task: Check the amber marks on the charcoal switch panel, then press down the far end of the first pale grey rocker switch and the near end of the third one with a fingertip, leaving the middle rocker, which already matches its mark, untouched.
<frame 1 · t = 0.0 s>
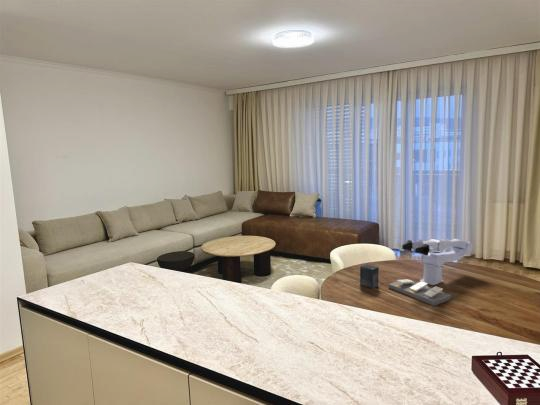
hand: (409, 248, 180), 22 cm above the table, tool horizontal, fingers open, 7 cm apart
rocker a: (405, 281, 185), point 4 cm above the table, hinge at -10.0°
rocker c: (433, 291, 171), point 4 cm above the table, hinge at 10.0°
box: (368, 285, 190), on the table
rocker b: (418, 286, 178), point 4 cm above the table, hinge at 10.0°
switch panel: (418, 293, 178), on the table
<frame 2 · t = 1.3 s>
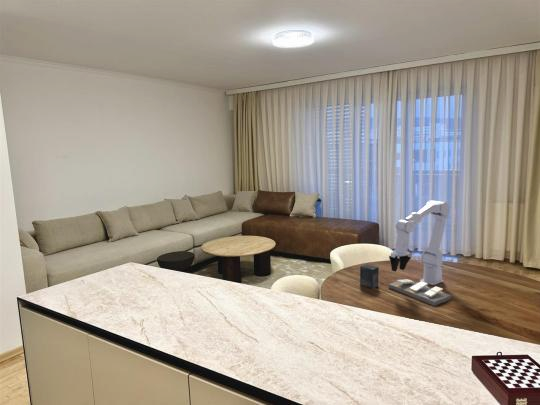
hand: (397, 270, 180), 11 cm above the table, tool pointing down, fingers open, 7 cm apart
nothing on the table moved.
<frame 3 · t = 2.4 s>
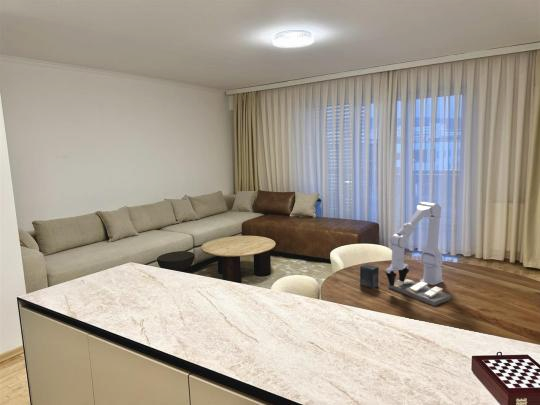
hand: (396, 283, 181), 4 cm above the table, tool pointing down, fingers open, 7 cm apart
rocker a: (405, 281, 185), point 4 cm above the table, hinge at -9.2°, touching gripper
everything else where it was.
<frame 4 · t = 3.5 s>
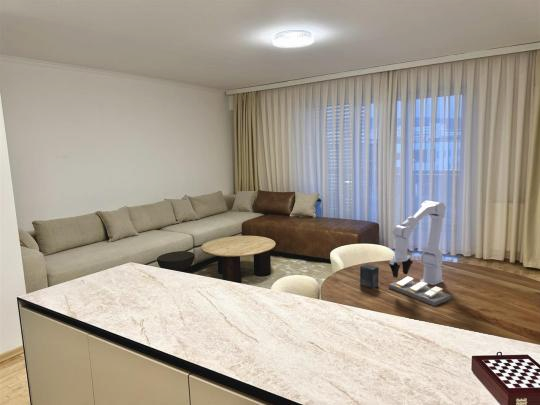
hand: (400, 275, 180), 8 cm above the table, tool pointing down, fingers open, 7 cm apart
rocker a: (405, 281, 185), point 4 cm above the table, hinge at 11.3°
everything else where it was.
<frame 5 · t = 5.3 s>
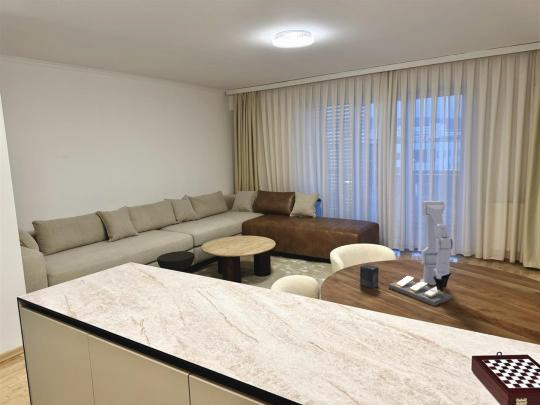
hand: (441, 288, 174), 4 cm above the table, tool pointing down, fingers open, 6 cm apart
rocker a: (405, 281, 185), point 4 cm above the table, hinge at 15.0°
rocker c: (433, 291, 171), point 4 cm above the table, hinge at 8.2°, touching gripper
everything else where it was.
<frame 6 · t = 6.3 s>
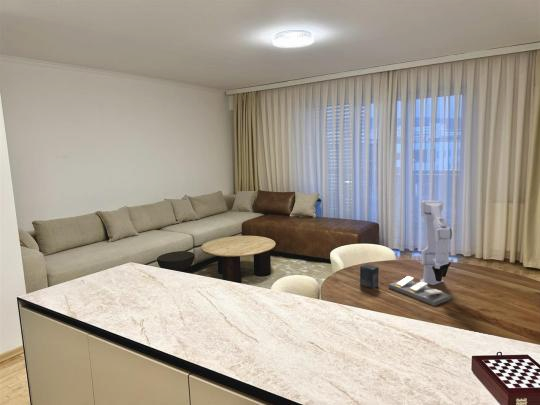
hand: (440, 278, 174), 8 cm above the table, tool pointing down, fingers open, 7 cm apart
rocker a: (405, 281, 185), point 4 cm above the table, hinge at 14.3°
rocker c: (433, 291, 171), point 4 cm above the table, hinge at -9.8°
everything else where it was.
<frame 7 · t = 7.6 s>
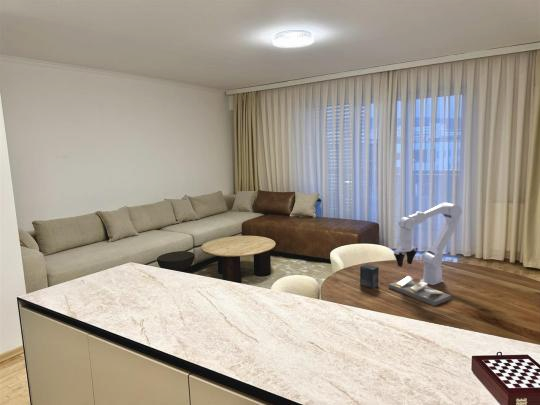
hand: (404, 265, 189), 10 cm above the table, tool pointing down, fingers open, 7 cm apart
rocker a: (405, 281, 185), point 4 cm above the table, hinge at 14.0°
rocker c: (433, 291, 171), point 4 cm above the table, hinge at -16.3°, touching switch panel
everything else where it was.
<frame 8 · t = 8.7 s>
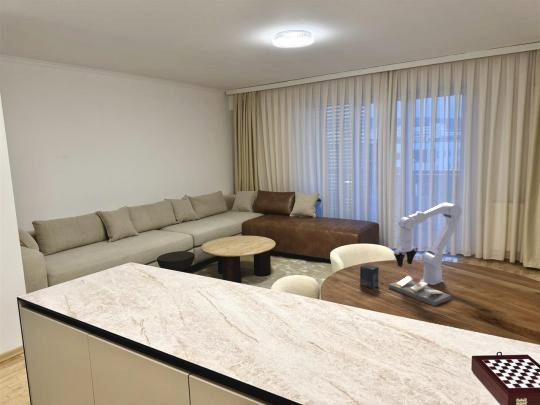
hand: (404, 265, 189), 10 cm above the table, tool pointing down, fingers open, 7 cm apart
rocker c: (433, 291, 171), point 4 cm above the table, hinge at -15.1°
everything else where it was.
at the end: rocker a at +14° (first picture: -10°); rocker b at +10° (first picture: +10°); rocker c at -15° (first picture: +10°) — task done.
